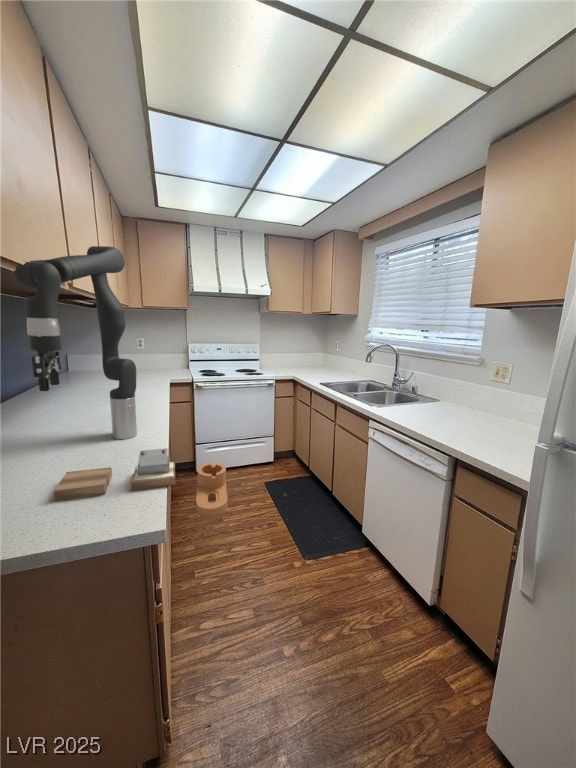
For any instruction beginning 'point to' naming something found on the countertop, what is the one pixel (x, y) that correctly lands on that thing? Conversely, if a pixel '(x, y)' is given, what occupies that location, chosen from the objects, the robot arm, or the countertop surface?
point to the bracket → (211, 490)
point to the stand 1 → (83, 483)
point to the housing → (153, 462)
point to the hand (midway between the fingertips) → (50, 387)
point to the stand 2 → (153, 479)
